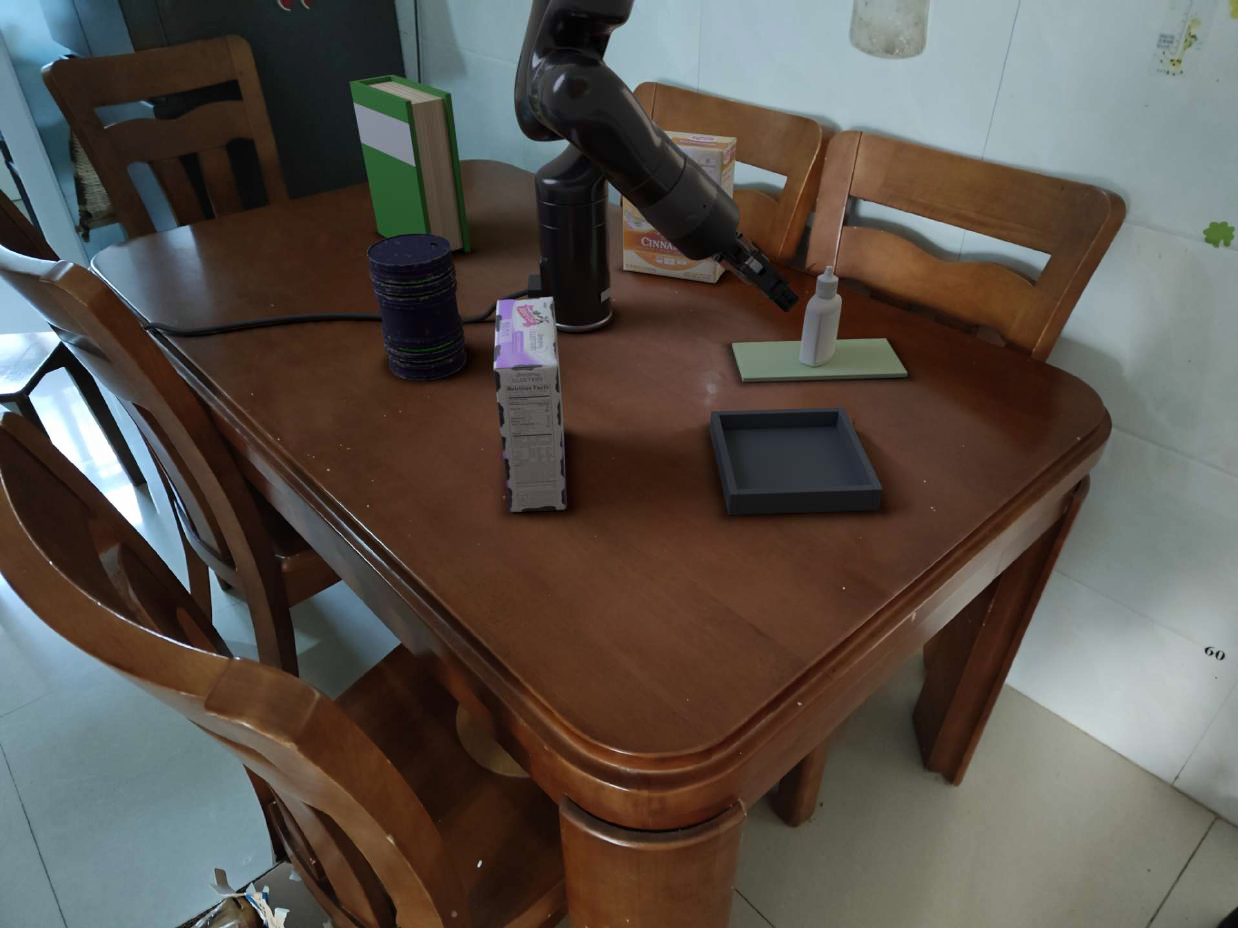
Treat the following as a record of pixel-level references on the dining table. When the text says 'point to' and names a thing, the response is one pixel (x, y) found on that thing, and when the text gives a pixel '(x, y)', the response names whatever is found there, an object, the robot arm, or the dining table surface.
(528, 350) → the candy box
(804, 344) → the eye dropper bottle
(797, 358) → the mat
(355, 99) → the hardback book
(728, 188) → the coffeecake box
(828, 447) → the tray
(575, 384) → the dining table surface
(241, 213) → the dining table surface
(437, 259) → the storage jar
